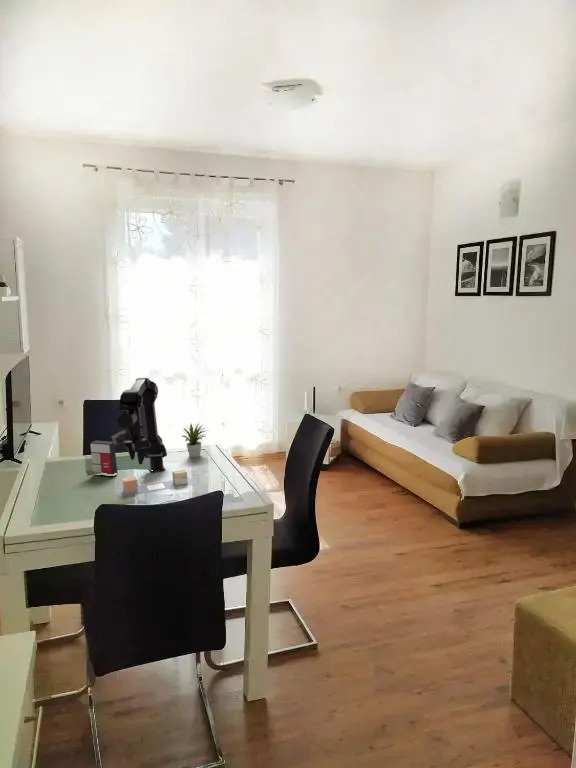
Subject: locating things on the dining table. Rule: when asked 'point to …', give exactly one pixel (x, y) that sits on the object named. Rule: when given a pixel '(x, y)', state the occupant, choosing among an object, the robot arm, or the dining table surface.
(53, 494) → the dining table surface
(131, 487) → the terracotta block
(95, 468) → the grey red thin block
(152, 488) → the baseplate
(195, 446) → the house plant
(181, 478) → the beech block
